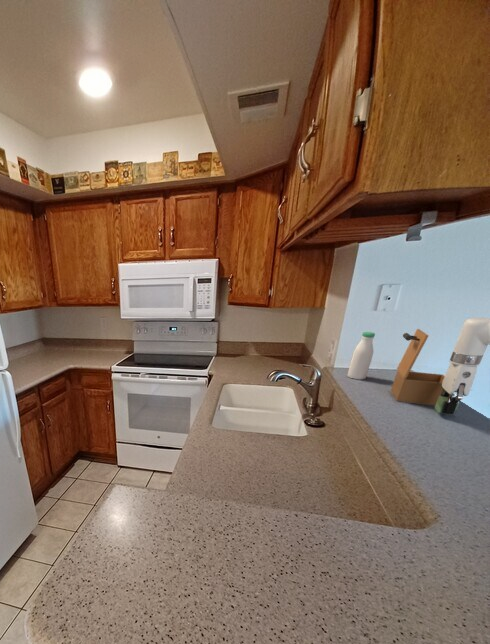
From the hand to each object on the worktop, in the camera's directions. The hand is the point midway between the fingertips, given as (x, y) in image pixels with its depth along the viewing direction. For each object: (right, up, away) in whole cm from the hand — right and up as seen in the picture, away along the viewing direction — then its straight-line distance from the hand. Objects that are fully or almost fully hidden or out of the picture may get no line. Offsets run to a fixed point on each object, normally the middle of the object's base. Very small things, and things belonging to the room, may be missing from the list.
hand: (444, 410), depth 114 cm
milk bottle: (-9, +18, +37) cm, 42 cm away
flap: (-4, +22, +9) cm, 24 cm away
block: (0, 0, 0) cm, 0 cm away
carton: (+1, +6, +15) cm, 16 cm away
